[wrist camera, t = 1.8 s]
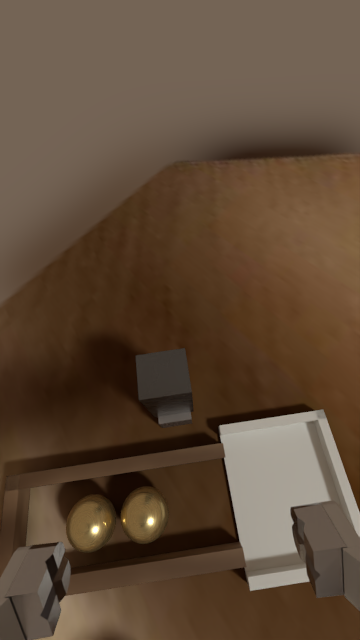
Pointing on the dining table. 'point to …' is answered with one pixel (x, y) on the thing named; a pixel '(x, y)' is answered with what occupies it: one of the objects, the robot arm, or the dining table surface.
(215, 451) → the slot rail
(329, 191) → the dining table surface
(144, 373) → the long gray brick
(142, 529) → the shiny gold ball
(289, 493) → the tray
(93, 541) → the brass sphere
